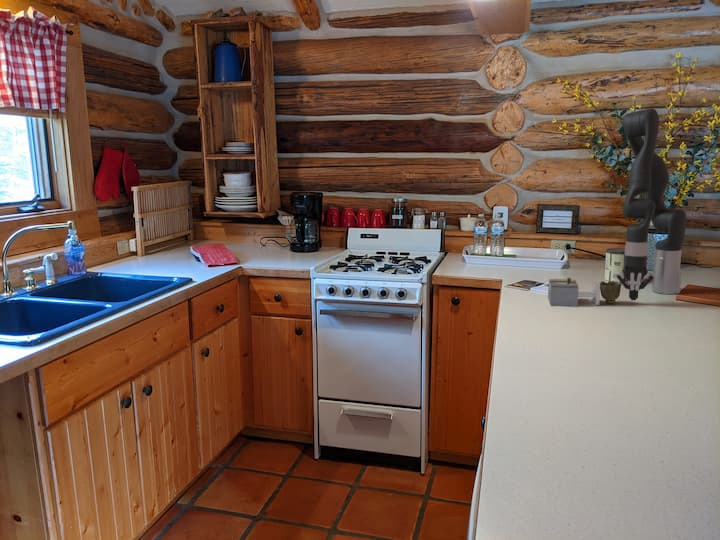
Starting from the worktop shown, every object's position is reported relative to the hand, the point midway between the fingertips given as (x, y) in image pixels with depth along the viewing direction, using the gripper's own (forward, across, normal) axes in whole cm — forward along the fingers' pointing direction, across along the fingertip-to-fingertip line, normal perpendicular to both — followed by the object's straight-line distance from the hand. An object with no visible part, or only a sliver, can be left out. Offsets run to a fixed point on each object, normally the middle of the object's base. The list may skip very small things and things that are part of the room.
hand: (633, 299), depth 215 cm
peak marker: (-6, +23, +1) cm, 24 cm away
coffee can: (+2, -2, -39) cm, 39 cm away
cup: (+2, +8, 0) cm, 8 cm away
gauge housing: (+2, +25, 0) cm, 25 cm away
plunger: (+1, +17, 0) cm, 17 cm away
